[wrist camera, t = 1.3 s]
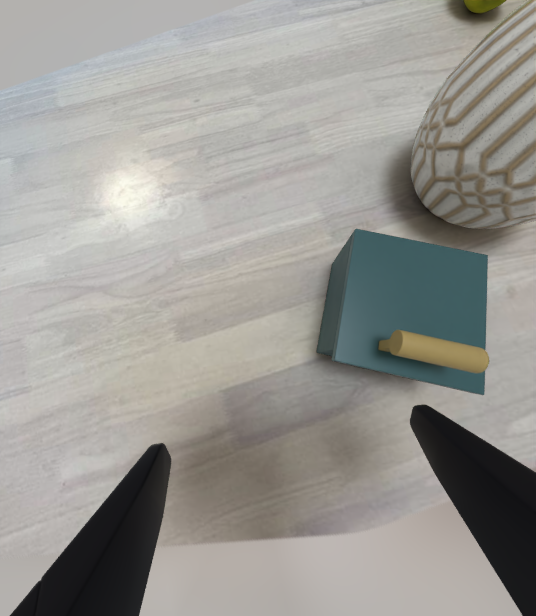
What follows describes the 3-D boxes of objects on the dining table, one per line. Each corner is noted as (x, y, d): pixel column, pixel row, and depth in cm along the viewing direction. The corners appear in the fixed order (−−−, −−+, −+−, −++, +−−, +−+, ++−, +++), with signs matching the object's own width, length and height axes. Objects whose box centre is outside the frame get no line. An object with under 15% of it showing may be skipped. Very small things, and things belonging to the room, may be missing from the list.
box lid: (474, 393, 17) (540, 404, 13) (331, 360, 18) (350, 360, 13) (479, 259, 19) (536, 232, 15) (352, 233, 20) (374, 200, 16)
